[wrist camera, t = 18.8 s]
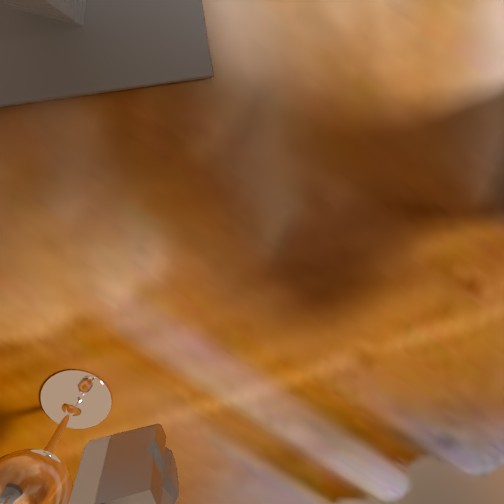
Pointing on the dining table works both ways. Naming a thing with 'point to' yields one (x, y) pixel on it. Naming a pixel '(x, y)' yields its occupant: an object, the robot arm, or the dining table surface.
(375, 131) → the dining table surface
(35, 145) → the dining table surface
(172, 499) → the robot arm
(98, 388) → the wineglass
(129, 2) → the shaft plate
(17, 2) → the steel sleeve
